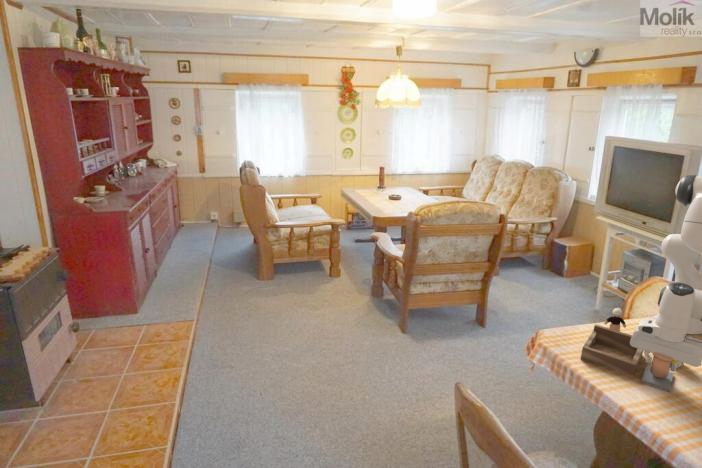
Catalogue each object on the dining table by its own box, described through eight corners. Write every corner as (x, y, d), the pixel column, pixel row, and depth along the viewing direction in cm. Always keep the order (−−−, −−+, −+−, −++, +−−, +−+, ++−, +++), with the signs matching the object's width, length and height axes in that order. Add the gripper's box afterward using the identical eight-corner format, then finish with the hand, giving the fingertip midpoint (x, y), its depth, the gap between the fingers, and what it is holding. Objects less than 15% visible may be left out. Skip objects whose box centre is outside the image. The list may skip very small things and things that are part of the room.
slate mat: (646, 367, 162) (647, 364, 162) (673, 375, 158) (673, 373, 157) (640, 381, 155) (641, 379, 154) (668, 391, 150) (669, 389, 149)
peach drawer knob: (649, 365, 159) (654, 345, 157) (670, 372, 156) (676, 352, 153) (646, 373, 155) (651, 353, 152) (668, 381, 151) (673, 360, 149)
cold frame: (592, 339, 179) (595, 324, 177) (641, 355, 169) (645, 339, 167) (580, 359, 167) (583, 342, 165) (633, 377, 157) (637, 360, 154)
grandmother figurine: (619, 334, 183) (626, 306, 179) (624, 339, 179) (630, 311, 175) (600, 333, 184) (605, 305, 180) (604, 338, 180) (609, 310, 176)
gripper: (709, 337, 146) (698, 373, 150) (636, 317, 158) (628, 351, 163) (708, 346, 141) (697, 383, 146) (633, 324, 154) (625, 359, 158)
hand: (660, 366), depth 154 cm, fingers closed on peach drawer knob, 6 cm apart
